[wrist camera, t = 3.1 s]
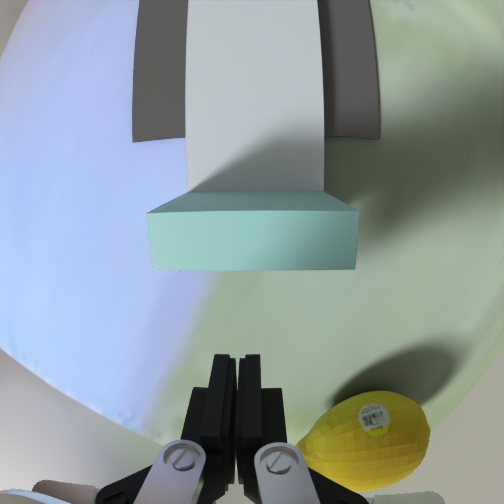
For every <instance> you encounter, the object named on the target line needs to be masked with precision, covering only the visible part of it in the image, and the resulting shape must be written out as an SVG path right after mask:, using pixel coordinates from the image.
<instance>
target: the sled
mask: <svg viewBox="0 0 504 504" xmlns="http://www.w3.org/2000/svg"><path fill="white" fill-rule="evenodd" d="M185 123H186V168H187V193H185V194H183V195H181V196H179V197H177V198H175V199H173V200H171V201H169V202H167V203H165V204H163V205H161V206H159V207H158V208H156V209H154V210H152V211H150V212H148V213H146V214H147V226H148V236H149V246H150V255H151V264H152V270H353V269H355V265H356V254H357V242H358V229H359V213H360V212H359V211H358V210H356V209H354V208H353V207H351V206H349V205H347V204H346V203H344V202H342V201H340V200H339V199H337V198H335V197H333V196H331V195H330V194H328V193H326V192H324V100H323V75H322V56H321V41H320V28H319V16H318V5H317V0H189V2H188V19H187V42H186V84H185Z"/></svg>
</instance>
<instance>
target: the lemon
mask: <svg viewBox="0 0 504 504" xmlns="http://www.w3.org/2000/svg"><path fill="white" fill-rule="evenodd" d="M429 436H430V428H429V425H428V423H427V420H426V417H425V414H424V412H423V410H422V409H421V407H420V406H419V405H418V404H417V403H416V402H415V401H414V400H412V399H410V398H408V397H406V396H403V395H401V394H398V393H395V392H391V391H382V390H380V391H370V392H365V393H361V394H359V395H356V396H353V397H351V398H349V399H347V400H344V401H342V402H341V403H339V404H337V405H335V406H334V407H333V408H331V409H330V410H328V411H327V412H326V413H325V414H324V415H322V416H321V417H320V418H319V420H318V421H317V422H316V423H315V425H314V426H313V427H312V429H311V430H310V432H309V433H308V434H307V435H306V436H305V437H304V438H302V439H301V440H300V441H299V442H298V443H297V445H296V448H298V449H299V450H300V451H301V453H302V454H303V456H304V459H305V462H306V465H307V466H308V467H310V468H311V469H313V470H315V471H316V472H318V473H320V474H322V475H323V476H325V477H327V478H329V479H331V480H332V481H334V482H336V483H338V484H340V485H342V486H344V487H346V488H348V489H350V490H351V491H353V492H364V491H372V490H377V489H381V488H385V487H388V486H390V485H392V484H395V483H397V482H398V481H400V480H402V479H404V478H405V477H406V476H408V475H410V474H411V473H412V472H413V471H414V470H415V469H416V468H417V467H418V466H419V465H420V463H421V462H422V460H423V458H424V456H425V453H426V449H427V447H428V443H429Z"/></svg>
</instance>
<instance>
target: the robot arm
mask: <svg viewBox="0 0 504 504" xmlns="http://www.w3.org/2000/svg"><path fill="white" fill-rule="evenodd" d="M236 460H237V471H238V481H239V484H243V485H244V495H245V496H246V497H248V498H249V499H250V500H251V501H253V502H254V503H255V504H445V502H444V499H443V498H442V497H441V496H440V495H439V494H438V493H435V492H428V491H426V492H418V493H409V494H408V493H407V494H394V495H375V496H374V497H373V498H364V497H363V496H361V495H360V494H357V493H355V492H353V491H351V490H350V489H348V488H346V487H344V486H342V485H340V484H338V483H336V482H334V481H332V480H331V479H329V478H327V477H325V476H323V475H322V474H320V473H318V472H316V471H315V470H313V469H311V468H310V467H308V466H307V465H306V462H305V459H304V456H303V454H302V453H301V451H300V450H299V449H298V448H296V447H295V446H293V445H291V444H288V443H287V435H286V425H285V416H284V406H283V397H282V389H281V388H261V368H260V354H250V355H246V356H245V358H240V362H239V376H238V390H237V378H236V360H235V358H230V355H229V354H215V355H214V360H213V365H212V371H211V376H210V381H209V386H208V388H204V387H194V388H193V390H192V394H191V398H190V402H189V406H188V410H187V414H186V418H185V422H184V427H183V431H182V435H181V439H180V440H176V441H172V442H170V443H168V444H166V445H165V446H163V448H162V449H161V450H160V452H159V454H158V456H157V458H156V460H155V462H154V464H153V465H151V466H149V467H147V468H145V469H143V470H141V471H138V472H136V473H134V474H132V475H130V476H128V477H125V478H124V479H121V480H119V481H116V482H114V483H112V484H110V485H107V486H106V487H104V488H102V489H98V488H96V487H95V486H89V485H80V484H72V483H65V482H58V481H52V480H42V481H40V482H37V483H36V484H35V485H34V487H33V489H32V491H28V490H21V489H3V490H0V504H216V500H217V499H219V498H220V497H222V496H223V495H225V491H228V484H234V479H235V478H234V477H235V462H236Z"/></svg>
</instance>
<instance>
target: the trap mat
mask: <svg viewBox="0 0 504 504" xmlns="http://www.w3.org/2000/svg"><path fill="white" fill-rule="evenodd" d="M188 2H189V0H140V1H139V10H138V18H137V28H136V39H135V53H134V70H133V101H132V136H133V142H142V141H151V140H161V139H172V138H184V137H186V123H185V84H186V42H187V19H188ZM317 5H318V16H319V28H320V41H321V56H322V75H323V100H324V136H339V137H353V138H365V139H376V140H379V107H378V86H377V72H376V60H375V50H374V40H373V32H372V24H371V17H370V11H369V4H368V0H317Z"/></svg>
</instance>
